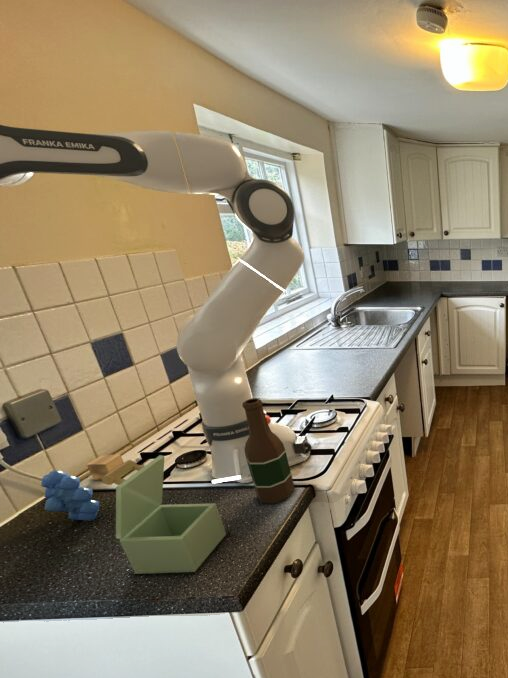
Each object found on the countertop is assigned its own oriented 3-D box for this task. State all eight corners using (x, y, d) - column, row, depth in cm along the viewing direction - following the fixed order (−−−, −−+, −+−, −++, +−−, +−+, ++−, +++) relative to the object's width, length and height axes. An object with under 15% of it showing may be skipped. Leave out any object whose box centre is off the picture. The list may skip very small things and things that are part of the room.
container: (226, 534, 84) (215, 503, 81) (194, 572, 75) (181, 539, 72) (173, 535, 83) (160, 504, 80) (134, 574, 74) (119, 540, 71)
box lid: (164, 456, 76) (136, 449, 75) (121, 488, 67) (88, 480, 67) (161, 503, 80) (135, 497, 79) (120, 539, 71) (90, 532, 70)
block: (126, 469, 105) (120, 454, 103) (111, 479, 101) (105, 464, 99) (109, 469, 105) (102, 454, 103) (93, 479, 101) (86, 464, 99)
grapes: (36, 528, 85) (9, 480, 81) (75, 507, 91) (52, 461, 87) (78, 537, 83) (53, 488, 78) (115, 515, 89) (93, 468, 84)
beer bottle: (279, 480, 100) (255, 391, 91) (302, 488, 98) (280, 396, 88) (249, 499, 94) (221, 405, 84) (274, 508, 91) (247, 411, 82)
